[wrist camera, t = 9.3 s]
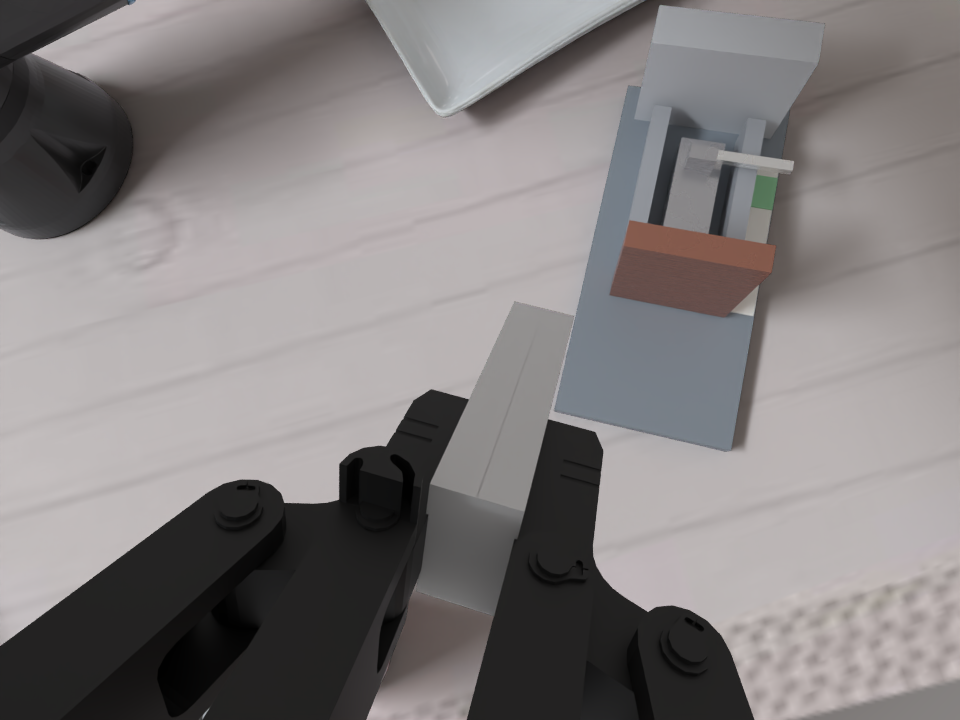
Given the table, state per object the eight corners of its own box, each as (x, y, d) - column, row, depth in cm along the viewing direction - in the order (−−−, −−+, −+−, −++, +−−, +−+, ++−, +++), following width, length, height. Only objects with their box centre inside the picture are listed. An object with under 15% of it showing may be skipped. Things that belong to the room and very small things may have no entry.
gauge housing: (725, 451, 40) (775, 443, 31) (554, 411, 42) (554, 392, 33) (784, 117, 44) (842, 25, 35) (626, 95, 46) (643, 3, 37)
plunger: (749, 322, 40) (804, 278, 31) (609, 295, 42) (623, 246, 33) (776, 171, 42) (834, 89, 33) (640, 150, 44) (662, 67, 35)
